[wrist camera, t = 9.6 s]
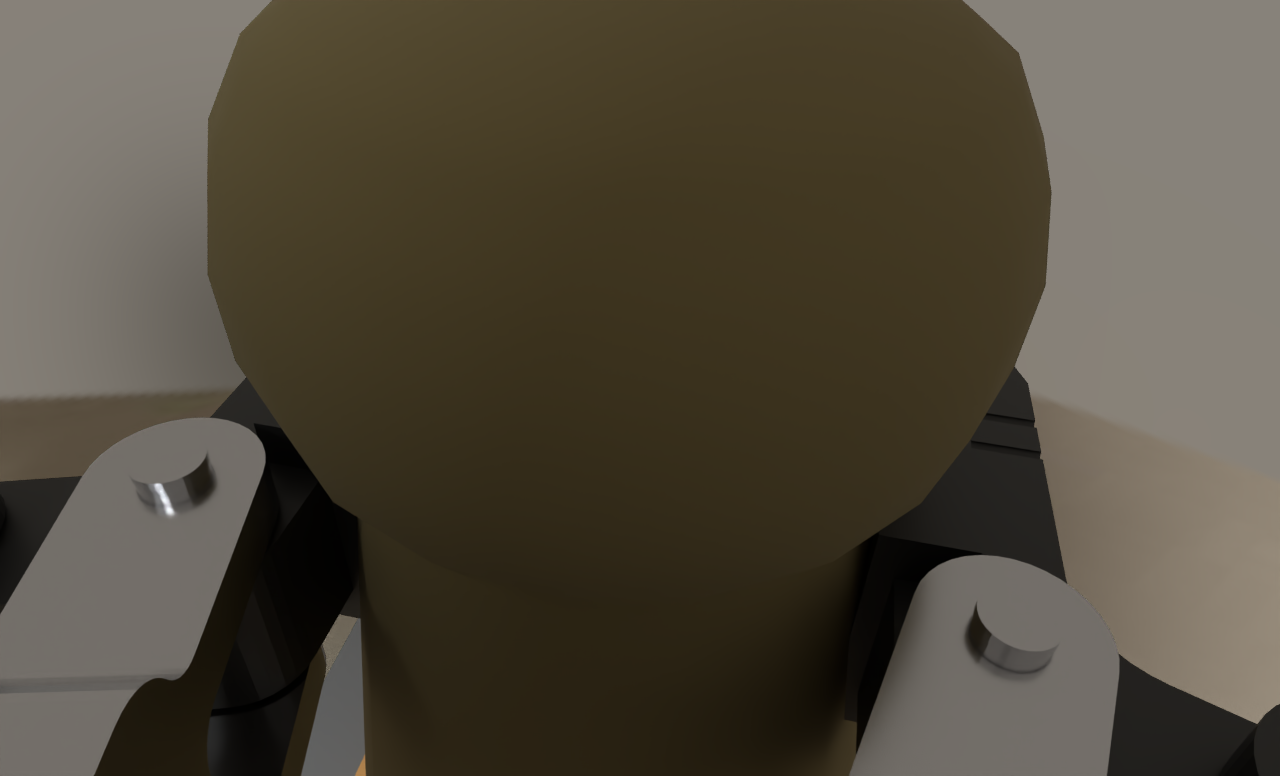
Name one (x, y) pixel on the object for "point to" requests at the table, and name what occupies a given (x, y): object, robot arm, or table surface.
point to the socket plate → (340, 717)
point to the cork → (622, 345)
